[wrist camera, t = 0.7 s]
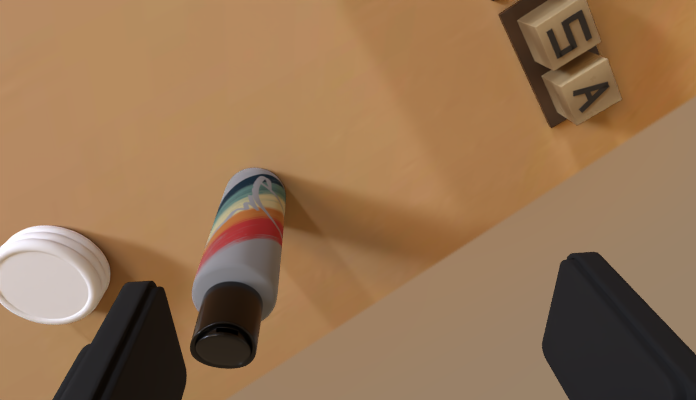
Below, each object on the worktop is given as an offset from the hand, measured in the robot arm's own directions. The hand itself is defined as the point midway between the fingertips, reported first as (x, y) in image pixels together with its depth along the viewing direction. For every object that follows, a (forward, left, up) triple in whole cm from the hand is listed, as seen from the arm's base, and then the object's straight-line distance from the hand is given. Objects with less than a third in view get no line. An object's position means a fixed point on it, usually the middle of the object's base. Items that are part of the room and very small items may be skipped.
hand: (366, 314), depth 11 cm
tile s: (-2, +18, -31) cm, 36 cm away
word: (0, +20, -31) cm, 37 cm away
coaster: (+21, -27, -32) cm, 46 cm away
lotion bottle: (+13, -7, -32) cm, 35 cm away
